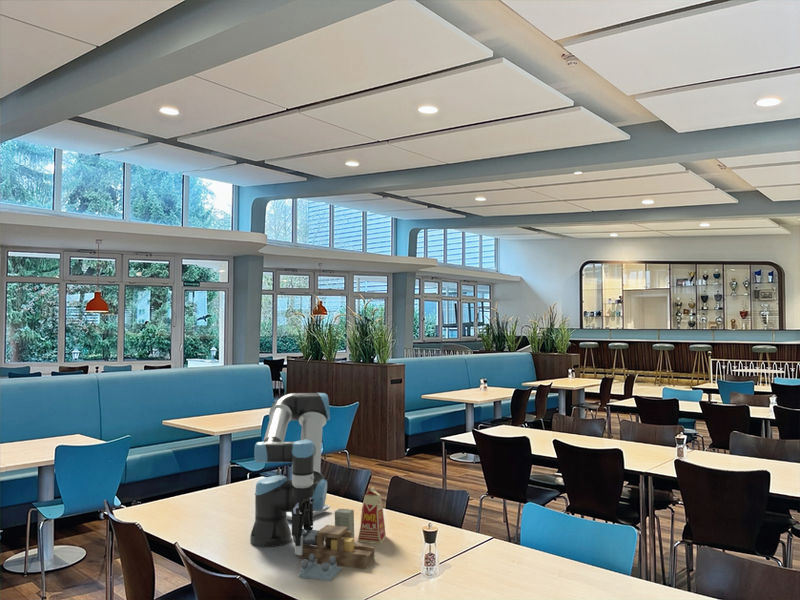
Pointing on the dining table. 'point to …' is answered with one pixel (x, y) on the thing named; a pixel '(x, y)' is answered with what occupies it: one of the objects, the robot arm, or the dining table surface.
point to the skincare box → (345, 519)
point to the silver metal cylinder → (309, 537)
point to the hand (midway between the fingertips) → (302, 551)
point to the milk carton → (372, 519)
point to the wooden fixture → (339, 548)
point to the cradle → (319, 569)
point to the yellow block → (347, 544)
